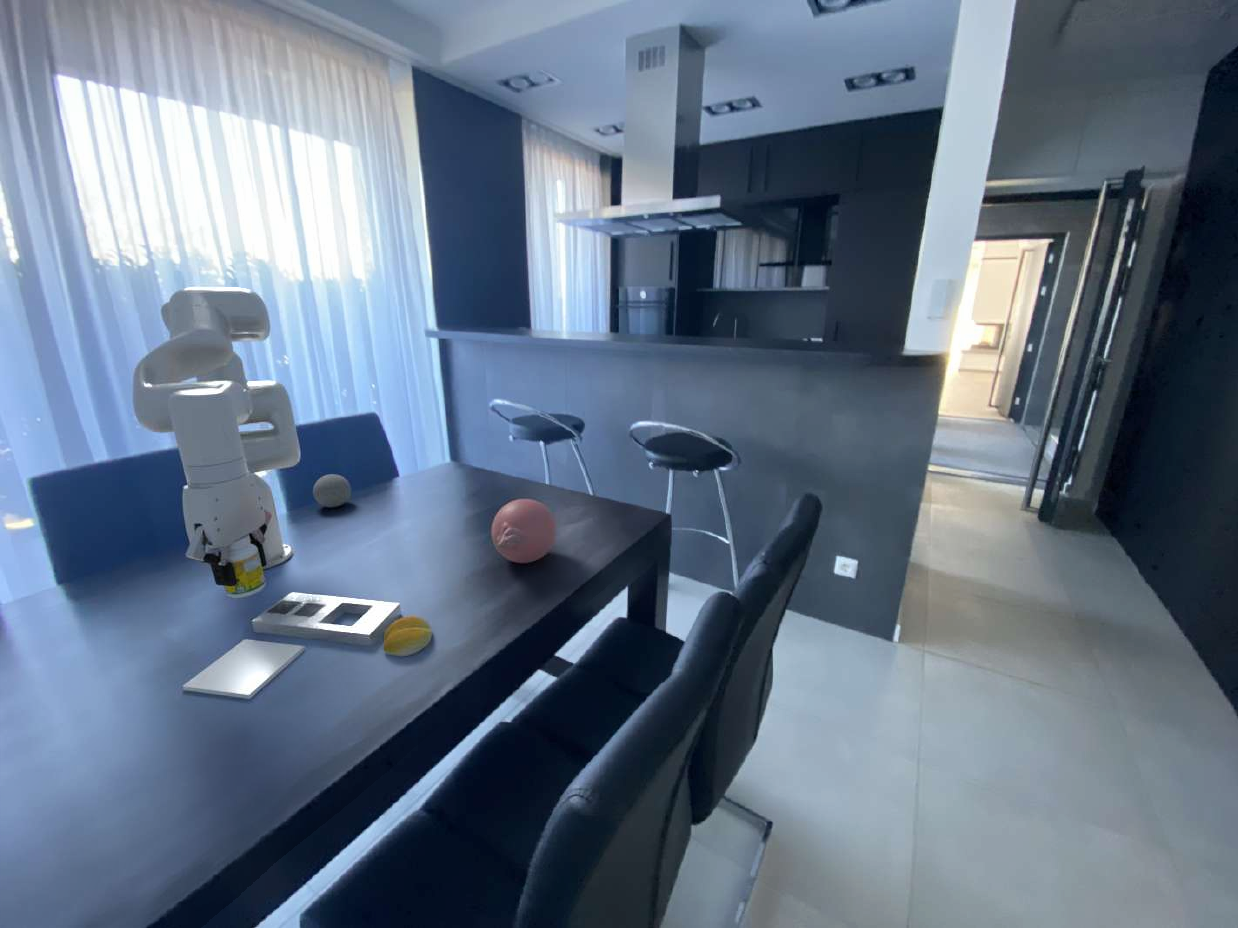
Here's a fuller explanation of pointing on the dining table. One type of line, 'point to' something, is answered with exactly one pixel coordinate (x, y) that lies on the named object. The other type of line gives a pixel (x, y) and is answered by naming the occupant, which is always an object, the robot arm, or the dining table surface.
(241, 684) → the plate
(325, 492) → the decorative ball
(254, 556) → the supplement bottle
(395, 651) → the bread roll
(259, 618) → the grey board with squares
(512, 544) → the balloon
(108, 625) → the dining table surface
